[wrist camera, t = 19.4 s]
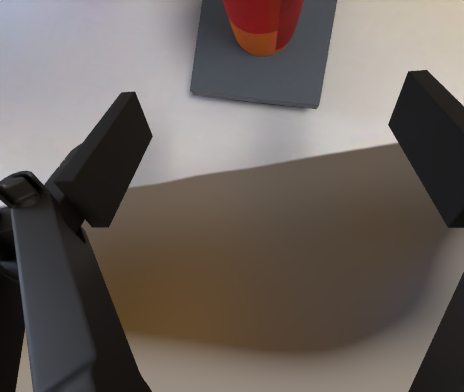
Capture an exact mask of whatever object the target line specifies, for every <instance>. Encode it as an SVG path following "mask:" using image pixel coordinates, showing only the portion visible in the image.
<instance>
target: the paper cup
mask: <svg viewBox="0 0 464 392" xmlns="http://www.w3.org/2000/svg"><path fill="white" fill-rule="evenodd" d="M303 2H304V0H223V3H224V6H225V9H226V12H227V15H228V18H229V21H230V24H231V27H232V30H233V32H234V35H235V37H236V40H237V42H238V43H239V45H240V46H241V47H242V48H243V49H244V50H245V51H246V52H248V53H250V54H252V55H255V56H270V55H273V54H275V53H277V52H279V51H281V50H282V49H283V48H284V47H285V46H286V45H287V44H288V43H289V41H290V40H291V38H292V36H293V34H294V31H295V29H296V26H297V23H298V19H299V16H300V13H301V9H302V6H303Z"/></svg>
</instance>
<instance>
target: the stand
mask: <svg viewBox="0 0 464 392" xmlns="http://www.w3.org/2000/svg"><path fill="white" fill-rule="evenodd" d="M336 4H337V0H304V2H303V6H302V9H301V13H300V16H299V19H298V23H297V26H296V29H295V31H294V34H293V36H292V38H291V40H290V41H289V43H288V44H287V45H286V46H285V47H284V48H283V49H282V50H281V51H279V52H277V53H275V54H273V55H270V56H255V55H252V54H250V53H248V52H246V51H245V50H244V49H243V48H242V47H241V46H240V45H239V43H238V42H237V40H236V37H235V35H234V32H233V30H232V27H231V24H230V21H229V18H228V15H227V12H226V9H225V6H224V3H223V0H203V1H202V9H201V16H200V23H199V30H198V37H197V44H196V52H195V59H194V66H193V73H192V80H191V87H190V91H191V92H192V94H193V95H198V96H207V97H216V98H224V99H233V100H242V101H251V102H259V103H268V104H277V105H285V106H294V107H303V108H312V109H317V107H318V106H319V102H320V97H321V91H322V85H323V79H324V73H325V68H326V62H327V56H328V50H329V44H330V39H331V33H332V27H333V21H334V16H335V10H336Z"/></svg>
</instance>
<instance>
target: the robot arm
mask: <svg viewBox="0 0 464 392" xmlns="http://www.w3.org/2000/svg"><path fill="white" fill-rule="evenodd" d="M388 125H389V127H390V129H391V130H392V132H393V134H394V136H395V137H396V139H397V141H398V142H399V144H400V146H401V148H402V149H403V151H404V153H405V154H406V156H407V158H408V160H409V161H410V163H411V165H412V167H413V168H414V170H415V172H416V173H417V175H418V177H419V178H420V180H421V182H422V184H423V185H424V187H425V189H426V191H427V192H428V194H429V196H430V198H431V199H432V201H433V203H434V204H435V206H436V208H437V209H438V211H439V213H440V215H441V216H442V218H443V220H444V222H445V223H446V225H447V227H449V228H464V106H463V105H462V104H461V103H460V102H459V101H458V100H457V99H456V98H455V97H454V96H453V95H452V94H451V93H450V92H449V91H448V90H447V89H446V88H445V87H444V86H443V85H442V84H441V83H439V82H438V81H437V80H436V79H435V78H434V77H433V76H432V75H431V74H430V73H429V72H428V71H427V70H421V71H408V74H407V76H406V79H405V82H404V84H403V87H402V90H401V92H400V95H399V97H398V100H397V103H396V105H395V108H394V111H393V113H392V116H391V119H390V121H389V124H388ZM152 137H153V136H152V133H151V131H150V128H149V126H148V123H147V121H146V118H145V115H144V113H143V110H142V108H141V105H140V103H139V100H138V98H137V95H136V93H135V92H122V93H121V94H120V95H119V96H118V97H117V99H116V100H115V101H114V103H113V104H112V105H111V107H110V108H109V109H108V111H107V112H106V113H105V114H104V116H103V117H102V118H101V120H100V121H99V122H98V124H97V125H96V126H95V128H94V129H93V130H92V131H91V133H90V134H89V135H88V137H87V138H86V139H85V141H84V142H83V143H82V144H80V145H78V146H77V147H76V148H74V149H73V150H72V151H71V152H70V153H69V154H68V155H67V157H66V158H65V160H63V162H62V163H61V164H60V167H58V168H57V169H56V171H55V172H54V173H53V174H52V176H51V177H50V178H49V179H48V181H47V182H46V183H45V185H43V184H42V183H41V182H40V181H39V180H38V178H37V177H36V176H35V175H34V174H33V173H32V172H30V171H21V172H17V173H14V174H12V175H10V176H8V177H6V178H4V179H3V180H2V181H0V200H1V201H2V202H3V203H5V204H6V205H7V206H8V207H5V208H1V209H0V392H15V390H16V384H17V377H18V370H19V364H20V358H21V351H22V345H23V338H24V332H25V329H26V337H27V345H28V353H29V361H30V369H31V376H32V385H33V392H152V391H151V389H150V388H149V386H148V385H147V383H146V382H145V381H144V379H143V378H142V376H141V374H140V372H139V370H138V367H137V365H136V362H135V359H134V357H133V354H132V352H131V349H130V346H129V344H128V341H127V339H126V336H125V333H124V331H123V328H122V326H121V323H120V320H119V318H118V315H117V313H116V310H115V307H114V305H113V302H112V300H111V297H110V294H109V292H108V289H107V287H106V284H105V281H104V279H103V276H102V273H101V271H100V268H99V266H98V263H97V260H96V258H95V255H94V253H93V250H92V247H91V245H90V242H89V240H88V237H87V235H86V232H85V230H84V229H83V228H82V227H81V225H82V223H83V222H84V220H86V221H87V222H88V223H89V224H90V225H91V227H109V226H110V224H111V222H112V220H113V218H114V216H115V213H116V211H117V209H118V207H119V205H120V203H121V201H122V199H123V197H124V195H125V193H126V191H127V189H128V186H129V184H130V182H131V180H132V178H133V176H134V174H135V172H136V170H137V168H138V166H139V164H140V162H141V159H142V157H143V155H144V153H145V151H146V149H147V147H148V145H149V143H150V141H151V139H152ZM409 392H464V273H463V275H462V277H461V279H460V281H459V283H458V286H457V288H456V290H455V292H454V294H453V297H452V299H451V301H450V303H449V305H448V307H447V309H446V312H445V314H444V316H443V318H442V320H441V322H440V325H439V327H438V329H437V331H436V333H435V335H434V338H433V340H432V342H431V344H430V346H429V349H428V351H427V353H426V355H425V357H424V359H423V361H422V364H421V366H420V368H419V370H418V372H417V374H416V377H415V379H414V381H413V383H412V385H411V387H410V390H409Z"/></svg>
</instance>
